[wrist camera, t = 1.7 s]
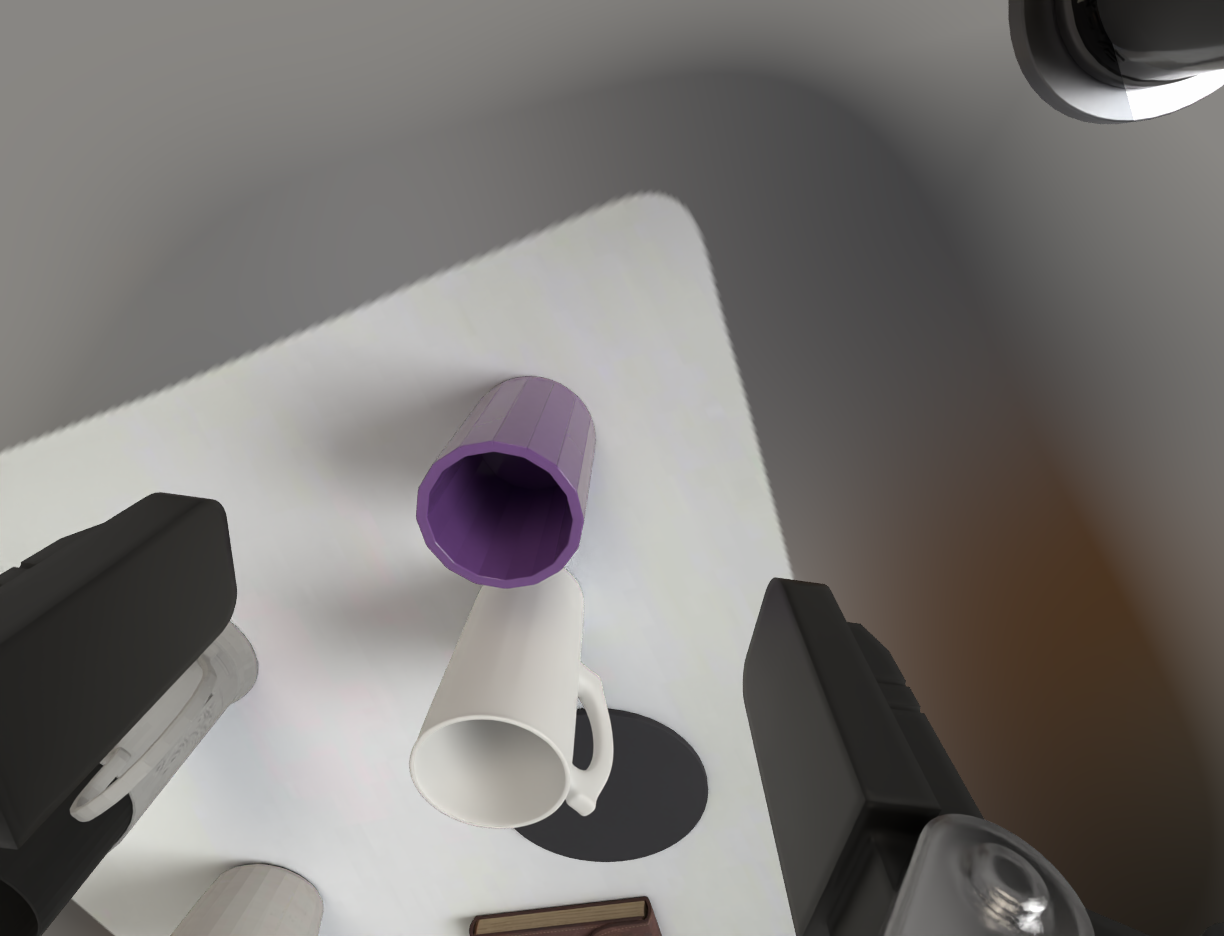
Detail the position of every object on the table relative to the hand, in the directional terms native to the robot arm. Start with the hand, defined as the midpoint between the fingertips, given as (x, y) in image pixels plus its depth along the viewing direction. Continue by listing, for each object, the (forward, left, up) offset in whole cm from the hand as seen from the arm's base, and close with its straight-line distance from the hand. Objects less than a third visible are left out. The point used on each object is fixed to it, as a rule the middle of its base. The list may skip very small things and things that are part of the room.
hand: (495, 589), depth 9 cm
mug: (+12, +13, -22) cm, 29 cm away
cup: (+6, +3, -22) cm, 23 cm away
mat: (+18, +27, -22) cm, 40 cm away
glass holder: (+31, +3, -22) cm, 38 cm away
